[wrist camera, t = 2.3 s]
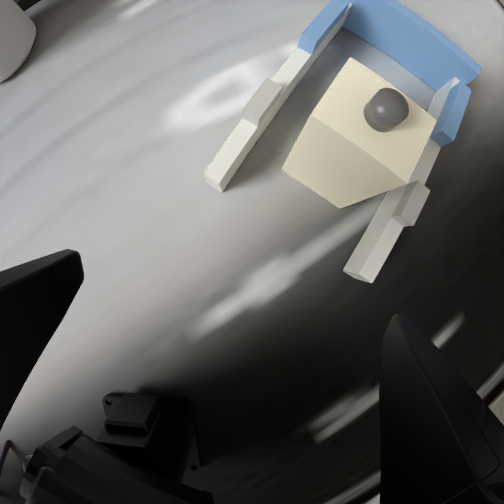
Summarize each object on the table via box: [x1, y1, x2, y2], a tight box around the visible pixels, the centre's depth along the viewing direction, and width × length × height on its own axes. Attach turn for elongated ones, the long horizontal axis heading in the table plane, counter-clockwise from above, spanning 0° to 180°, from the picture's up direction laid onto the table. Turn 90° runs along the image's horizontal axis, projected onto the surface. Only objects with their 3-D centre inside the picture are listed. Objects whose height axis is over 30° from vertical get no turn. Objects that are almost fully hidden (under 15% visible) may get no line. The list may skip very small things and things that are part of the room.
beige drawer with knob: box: [281, 57, 437, 209], centre depth 15 cm, size 4×4×10 cm
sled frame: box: [204, 0, 482, 283], centre depth 18 cm, size 18×11×5 cm, turn 148°
